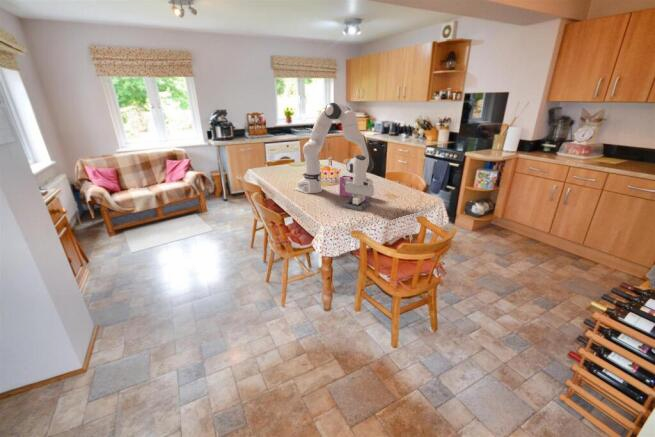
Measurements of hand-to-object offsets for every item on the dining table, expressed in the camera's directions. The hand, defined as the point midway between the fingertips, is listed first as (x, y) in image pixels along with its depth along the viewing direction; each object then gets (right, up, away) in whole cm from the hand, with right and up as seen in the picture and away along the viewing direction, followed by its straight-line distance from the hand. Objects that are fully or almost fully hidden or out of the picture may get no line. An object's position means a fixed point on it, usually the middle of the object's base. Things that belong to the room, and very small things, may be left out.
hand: (358, 200), depth 201 cm
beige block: (0, -3, +1) cm, 3 cm away
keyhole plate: (-1, -4, +2) cm, 4 cm away
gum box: (-1, +4, +22) cm, 22 cm away
